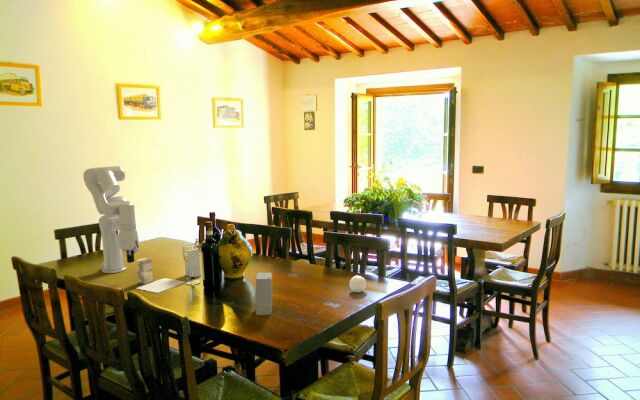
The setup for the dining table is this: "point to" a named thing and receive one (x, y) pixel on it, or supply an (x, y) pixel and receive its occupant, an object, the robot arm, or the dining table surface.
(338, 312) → the dining table surface
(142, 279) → the birch block
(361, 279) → the geometric ball
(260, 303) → the skincare box
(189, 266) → the skincare box
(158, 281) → the mat
